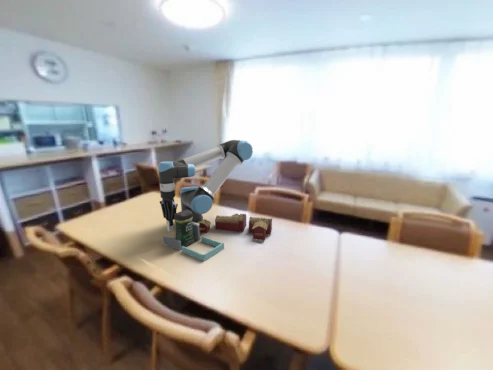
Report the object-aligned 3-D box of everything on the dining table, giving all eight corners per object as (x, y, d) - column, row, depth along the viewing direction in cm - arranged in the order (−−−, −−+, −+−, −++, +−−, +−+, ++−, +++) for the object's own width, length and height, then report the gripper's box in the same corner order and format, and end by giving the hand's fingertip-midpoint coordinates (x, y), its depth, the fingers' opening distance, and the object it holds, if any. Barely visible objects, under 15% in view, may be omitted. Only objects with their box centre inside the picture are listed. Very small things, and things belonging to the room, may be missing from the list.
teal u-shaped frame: (202, 240, 132) (202, 235, 131) (224, 248, 123) (223, 243, 122) (181, 251, 120) (181, 246, 119) (204, 261, 111) (203, 255, 110)
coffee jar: (183, 249, 123) (181, 215, 118) (173, 245, 127) (170, 212, 123) (197, 241, 131) (195, 209, 126) (186, 238, 135) (184, 207, 131)
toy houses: (272, 226, 150) (272, 211, 148) (269, 241, 131) (269, 224, 128) (205, 222, 159) (204, 207, 157) (192, 235, 139) (191, 219, 137)
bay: (184, 234, 140) (183, 218, 137) (200, 240, 132) (199, 223, 130) (163, 244, 128) (162, 227, 126) (179, 250, 121) (178, 233, 119)
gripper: (154, 189, 129) (157, 230, 135) (169, 193, 122) (172, 235, 127) (165, 187, 135) (168, 225, 141) (180, 190, 128) (183, 231, 133)
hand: (170, 230), depth 134 cm, fingers closed
